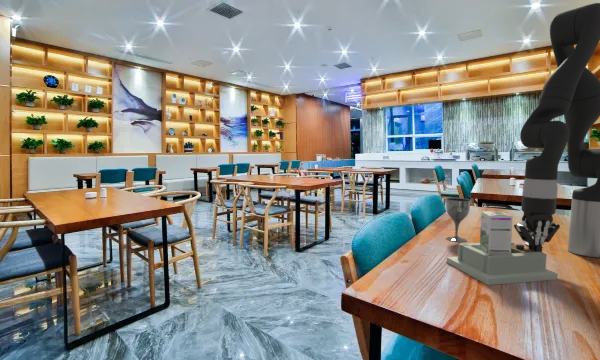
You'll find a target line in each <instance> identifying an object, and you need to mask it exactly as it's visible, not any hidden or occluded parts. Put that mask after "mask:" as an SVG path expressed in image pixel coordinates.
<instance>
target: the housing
mask: <svg viewBox="0 0 600 360" xmlns="http://www.w3.org/2000/svg"><path fill="white" fill-rule="evenodd" d="M513 244H515V242H512V241H511V245H513ZM457 245H458V246H457V256H446V263H448V264H449V265H451V266H453V267H454V268H457V269H458V270H460V271H462V272H464V273H466V275H469V276H471V277H473V278H475V280H478V281H480V282H482V283H484V284H485V285H487V286H492V285H503V284H517V283H528V282H529V283H530V282H541V281H543V282H544V281H553V280H554V281H555V280H558V275H559V273H557V272H555V271H552V270H550V269H547V268H546V267H547V253H544V252H528V253H512V254H495V255H491V254H488V253H486V252H483V251H481V250H480V242H464V243H457Z"/></svg>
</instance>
